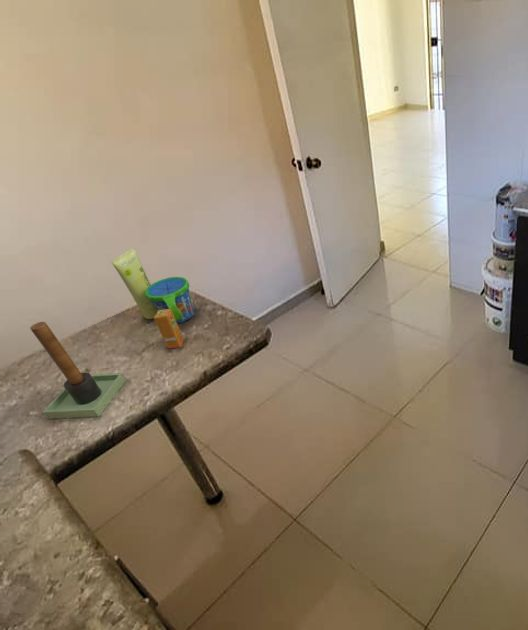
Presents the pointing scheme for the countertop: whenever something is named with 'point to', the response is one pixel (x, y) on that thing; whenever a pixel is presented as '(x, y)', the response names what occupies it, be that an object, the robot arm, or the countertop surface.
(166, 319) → the supplement box
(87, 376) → the brush
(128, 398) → the countertop surface
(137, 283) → the tube
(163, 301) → the snack cup
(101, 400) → the tray
